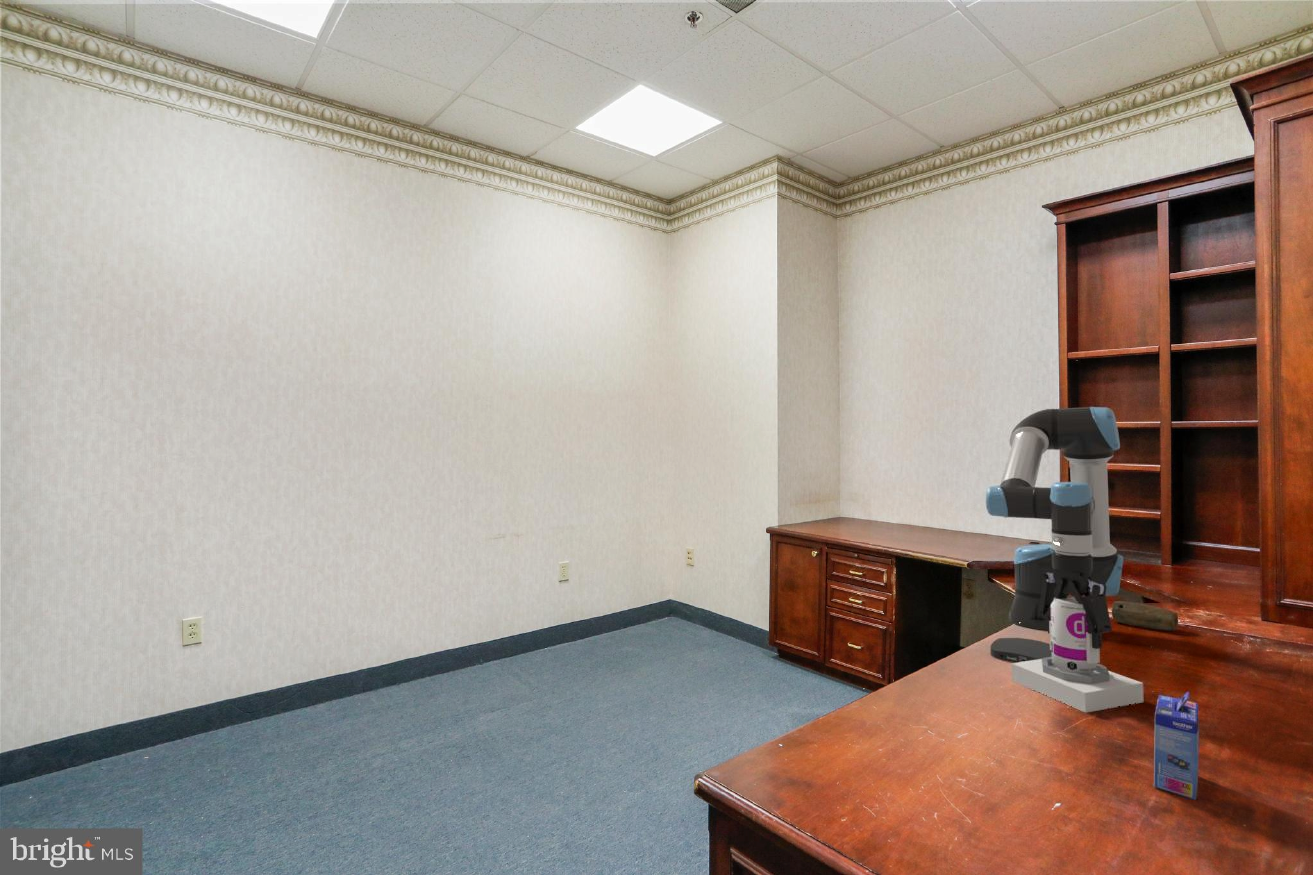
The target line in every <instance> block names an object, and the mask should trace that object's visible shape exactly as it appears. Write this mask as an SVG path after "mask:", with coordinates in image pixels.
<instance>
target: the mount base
mask: <svg viewBox="0 0 1313 875" xmlns="http://www.w3.org/2000/svg"><path fill="white" fill-rule="evenodd" d="M1011 681H1012V682H1014V683H1016V684H1019V685H1021V686H1022V687H1025V686H1026V687H1025V688H1026V689H1027V688H1028V689H1030V690H1033V691H1034V690H1035V692H1037V693H1039V692H1040V693H1039V694H1042V695H1043V694H1044V696H1046V695H1047V697H1049V698H1050V697H1051V698H1050V699H1052V700H1055V699H1056V700H1055V701H1057V700H1058V701H1057V702H1060V701H1061V702H1060V703H1062V704H1064V703H1065V704H1064V705H1066V704H1067V706H1068V707H1071V706H1072V707H1071V708H1074V709H1076V710H1078V711H1080V712H1082V713H1086V714H1087V713H1091V712H1096V711H1102V710H1108V708H1109V709H1113V708H1119V707H1118V706H1120V707H1126V706H1130V705H1129V704H1131V705H1136V704H1140V703H1145V701H1144V682H1142V681H1138V680H1136V679H1133V678H1130V677H1127V676H1125V675H1121V674H1119V673H1116V672H1113V671H1110V670H1108V669H1107V667H1106V666H1105V665H1103V664H1100V663H1097V669H1096V671H1093V673H1091V674H1077V673H1070V672H1065V671H1062V670H1060V669H1058V668H1056V666H1055V665H1054V664H1053V663H1052V657H1047V658H1042V659H1038V660H1031V661H1024V662H1017V663H1015V662H1011ZM1135 703H1136V704H1135Z"/></svg>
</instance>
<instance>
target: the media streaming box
mask: <svg viewBox="0 0 1313 875" xmlns="http://www.w3.org/2000/svg"><path fill="white" fill-rule="evenodd" d="M990 656H992V657H993V658H995V659H998V660H1001V661H1006V662H1009V663H1017V662H1024V661H1031V660H1038V659H1042V658H1047V657H1052V650H1050V643H1049V642H1044V641H1041V640H1036V639H1029V638H1023V637H1000V638H997V639H995V640H994V641H993V642H992V643H991V645H990Z"/></svg>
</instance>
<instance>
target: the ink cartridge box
mask: <svg viewBox="0 0 1313 875" xmlns="http://www.w3.org/2000/svg"><path fill="white" fill-rule="evenodd" d="M1189 699H1190V691H1187V692H1186V693H1185V694H1184V695H1183V696H1182V697H1181V698H1177V697H1172V696H1168V695H1162V694H1159V695H1158V698H1157V700H1156V702H1157V704H1156V706H1155V712H1154V735H1153V736H1154V740H1153V741H1154V743H1153V744H1154V745H1153V747H1154V750H1153V751H1154V753H1153V755H1154V756H1153V757H1154V759H1153V767H1154V768H1153V787H1154V788H1156V789H1160V790H1163V791H1165V792H1169V793H1173V794H1176V795H1178V796H1182V797H1185V798H1188V799H1191V800H1194V801H1195V800H1196V799H1197V794H1198V781H1199V752H1200V751H1199V750H1200V749H1199V748H1200V747H1199V746H1200V745H1199V744H1200V742H1199V740H1200V734H1199V733H1200V727H1199V726H1200V725H1199V724H1200V723H1199V703H1197V702H1193V701H1190V700H1189Z"/></svg>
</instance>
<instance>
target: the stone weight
mask: <svg viewBox="0 0 1313 875" xmlns="http://www.w3.org/2000/svg"><path fill="white" fill-rule="evenodd" d="M1111 616H1112V619H1113V620H1114V621H1115V622H1118V623H1121V624H1123V625H1128V626H1132V627H1138V628H1144V629H1151V630H1159V631H1172V632H1173V631H1175V630H1176V629H1177V628H1178V627H1179V616H1178V613H1177V612H1175V611H1174V610H1173V611H1172V610H1170V609H1166V608H1164V607H1159V606H1154V605H1149V604H1143V603H1138V602H1132V601H1126V600H1125V601H1124V600H1117V601H1113V603H1112V607H1111Z"/></svg>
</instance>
